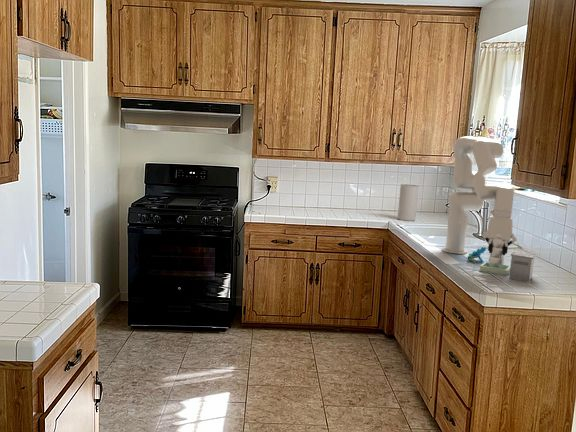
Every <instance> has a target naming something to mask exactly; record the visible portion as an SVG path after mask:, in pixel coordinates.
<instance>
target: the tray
mask: <svg viewBox="0 0 576 432" xmlns="http://www.w3.org/2000/svg"><path fill="white" fill-rule="evenodd" d="M510 266H511V265H508V264H504V265H503V267H501V268H495V267H492V266H490V265H489V261H483V262H482V263H481V265H479V271H480V272H485V273H489V274H495V275H501V276H509V274H510Z"/></svg>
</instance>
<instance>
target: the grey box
mask: <svg viewBox="0 0 576 432" xmlns="http://www.w3.org/2000/svg"><path fill="white" fill-rule="evenodd" d="M536 256H537V254H536V253H531V252H527V251H521V250H514V251H512V253H510V257H511V260H510V265H509V266H510V272H509V274H508V279H510V280H516V281H521V282H528V283H530V281H531V280H532V278H533V273H534V263H535V257H536Z"/></svg>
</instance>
